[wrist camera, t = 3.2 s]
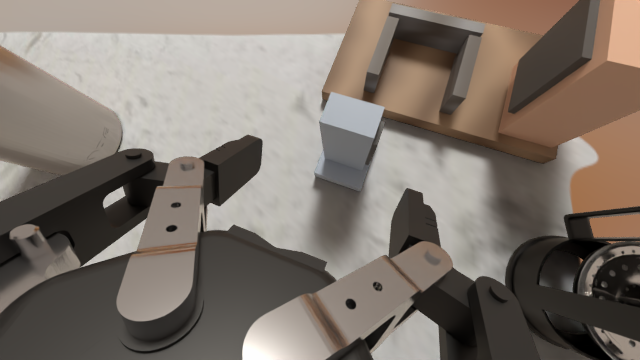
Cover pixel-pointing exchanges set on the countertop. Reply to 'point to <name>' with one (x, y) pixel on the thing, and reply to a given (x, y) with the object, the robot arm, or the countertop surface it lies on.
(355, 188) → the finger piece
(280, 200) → the countertop surface
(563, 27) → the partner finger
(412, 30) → the rail
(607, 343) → the french press
